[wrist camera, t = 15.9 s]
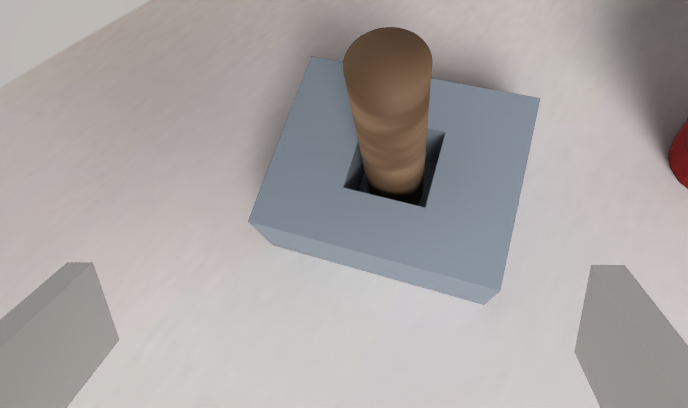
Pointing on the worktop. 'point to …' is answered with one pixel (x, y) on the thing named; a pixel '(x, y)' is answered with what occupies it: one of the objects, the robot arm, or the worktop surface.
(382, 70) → the walnut peg
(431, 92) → the bore block
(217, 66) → the worktop surface
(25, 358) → the robot arm
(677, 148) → the plastic cup
